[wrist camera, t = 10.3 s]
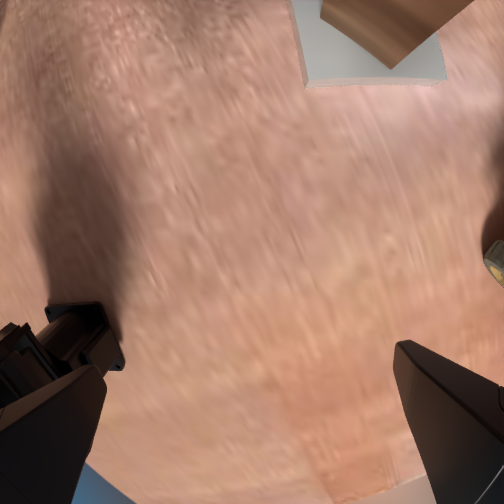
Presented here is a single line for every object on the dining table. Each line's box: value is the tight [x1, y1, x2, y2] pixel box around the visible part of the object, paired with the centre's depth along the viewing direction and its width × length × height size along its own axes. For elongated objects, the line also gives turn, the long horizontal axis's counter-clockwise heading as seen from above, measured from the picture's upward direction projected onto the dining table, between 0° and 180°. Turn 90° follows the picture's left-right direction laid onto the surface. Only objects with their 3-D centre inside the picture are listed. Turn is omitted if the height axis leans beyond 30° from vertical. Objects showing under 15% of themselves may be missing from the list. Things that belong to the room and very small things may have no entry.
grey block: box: [286, 0, 448, 89], centre depth 15 cm, size 9×9×3 cm
